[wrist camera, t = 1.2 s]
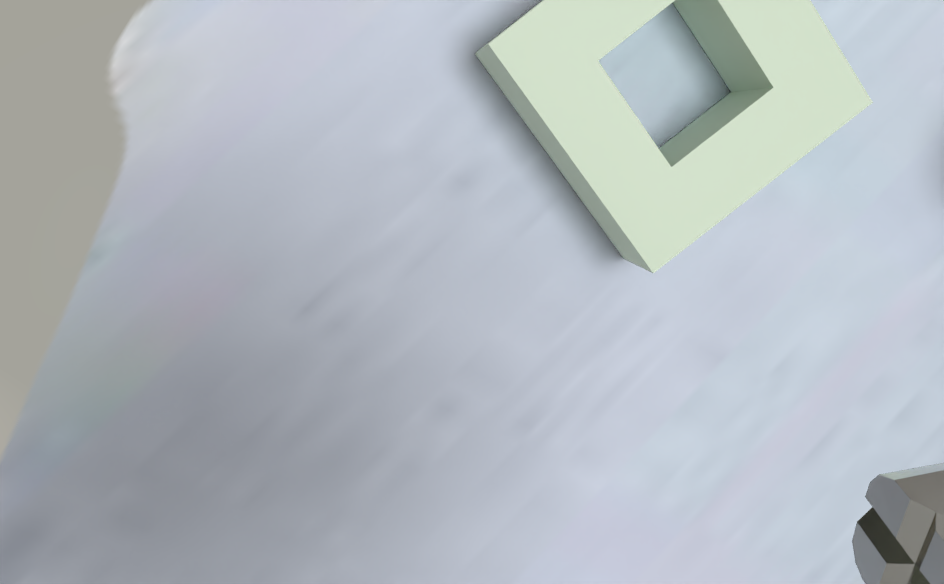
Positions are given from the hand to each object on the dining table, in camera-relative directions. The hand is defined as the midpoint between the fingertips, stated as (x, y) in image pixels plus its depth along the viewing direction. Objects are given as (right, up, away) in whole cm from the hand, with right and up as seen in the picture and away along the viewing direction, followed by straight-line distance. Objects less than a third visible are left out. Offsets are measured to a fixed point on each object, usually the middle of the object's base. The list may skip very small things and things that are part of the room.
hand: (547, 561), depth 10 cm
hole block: (+9, +15, +36) cm, 40 cm away
